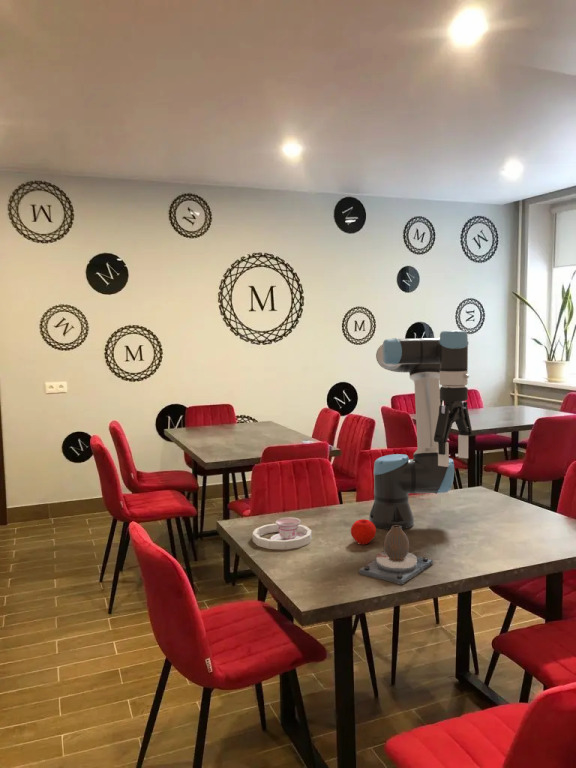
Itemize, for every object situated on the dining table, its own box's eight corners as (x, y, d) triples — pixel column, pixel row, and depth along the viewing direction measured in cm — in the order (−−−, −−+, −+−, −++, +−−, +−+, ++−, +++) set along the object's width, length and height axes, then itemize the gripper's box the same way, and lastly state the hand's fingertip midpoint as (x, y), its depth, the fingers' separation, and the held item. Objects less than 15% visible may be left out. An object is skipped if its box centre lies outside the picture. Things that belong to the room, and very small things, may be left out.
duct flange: (359, 573, 166) (359, 562, 166) (391, 554, 180) (391, 544, 180) (402, 584, 158) (402, 572, 158) (432, 564, 172) (432, 552, 172)
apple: (380, 546, 188) (379, 522, 187) (355, 548, 186) (354, 524, 186) (372, 538, 196) (371, 515, 195) (348, 540, 194) (347, 517, 194)
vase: (378, 557, 169) (378, 526, 169) (393, 551, 174) (393, 521, 173) (399, 564, 164) (399, 532, 164) (414, 557, 169) (414, 526, 168)
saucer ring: (241, 541, 194) (241, 534, 194) (278, 527, 209) (278, 519, 209) (286, 553, 183) (286, 545, 183) (322, 537, 197) (322, 529, 197)
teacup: (284, 532, 204) (284, 513, 204) (314, 538, 197) (314, 519, 197) (262, 542, 195) (261, 522, 194) (292, 549, 187) (292, 529, 187)
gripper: (447, 390, 158) (447, 471, 160) (483, 383, 177) (483, 455, 179) (420, 389, 163) (421, 468, 164) (458, 382, 182) (458, 453, 184)
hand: (453, 461), depth 172 cm, fingers open, 13 cm apart
